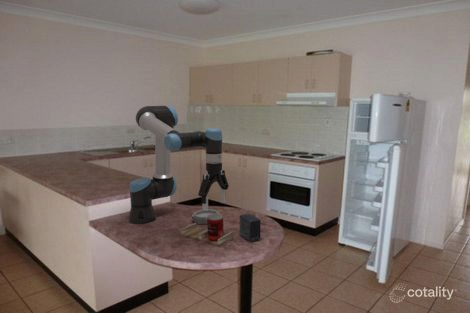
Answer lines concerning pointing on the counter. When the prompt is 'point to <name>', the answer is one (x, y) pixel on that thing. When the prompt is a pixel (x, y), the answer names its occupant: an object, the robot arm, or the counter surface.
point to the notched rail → (205, 240)
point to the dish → (202, 216)
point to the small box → (250, 227)
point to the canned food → (215, 226)
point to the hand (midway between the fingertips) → (214, 206)
